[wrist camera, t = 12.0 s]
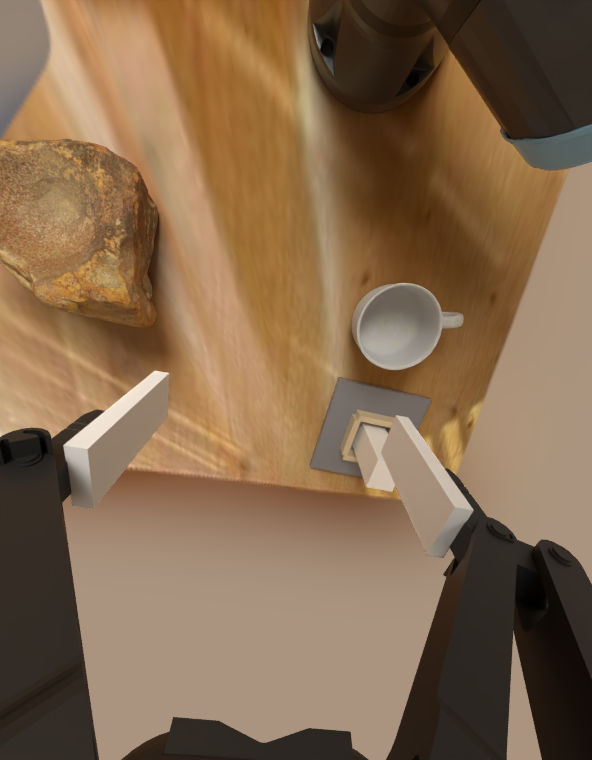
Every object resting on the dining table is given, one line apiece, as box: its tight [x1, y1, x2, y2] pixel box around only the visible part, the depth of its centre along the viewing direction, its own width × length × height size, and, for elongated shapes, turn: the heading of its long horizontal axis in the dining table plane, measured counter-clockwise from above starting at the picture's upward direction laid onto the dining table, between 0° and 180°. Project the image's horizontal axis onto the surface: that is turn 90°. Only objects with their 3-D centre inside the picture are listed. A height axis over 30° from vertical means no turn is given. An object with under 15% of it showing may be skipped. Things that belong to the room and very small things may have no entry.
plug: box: [352, 422, 395, 492], centre depth 44 cm, size 5×4×10 cm
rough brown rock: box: [0, 139, 158, 327], centre depth 31 cm, size 23×17×15 cm
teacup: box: [352, 283, 464, 370], centre depth 38 cm, size 14×11×8 cm
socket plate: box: [310, 377, 432, 477], centre depth 49 cm, size 18×16×3 cm
